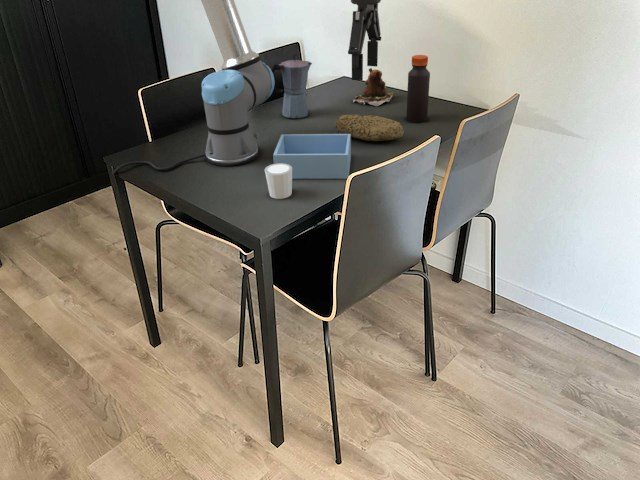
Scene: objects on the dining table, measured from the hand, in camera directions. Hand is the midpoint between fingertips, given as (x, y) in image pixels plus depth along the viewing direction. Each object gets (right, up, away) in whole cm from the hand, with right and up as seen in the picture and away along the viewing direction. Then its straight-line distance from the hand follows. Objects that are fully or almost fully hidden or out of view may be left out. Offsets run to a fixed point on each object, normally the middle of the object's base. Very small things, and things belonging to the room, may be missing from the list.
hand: (365, 72), depth 147 cm
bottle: (+20, -5, +34) cm, 40 cm away
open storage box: (-14, -24, +6) cm, 28 cm away
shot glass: (-22, -33, -7) cm, 40 cm away
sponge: (+3, -14, +22) cm, 26 cm away
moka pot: (-21, -2, +42) cm, 47 cm away
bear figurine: (+8, +6, +53) cm, 54 cm away
